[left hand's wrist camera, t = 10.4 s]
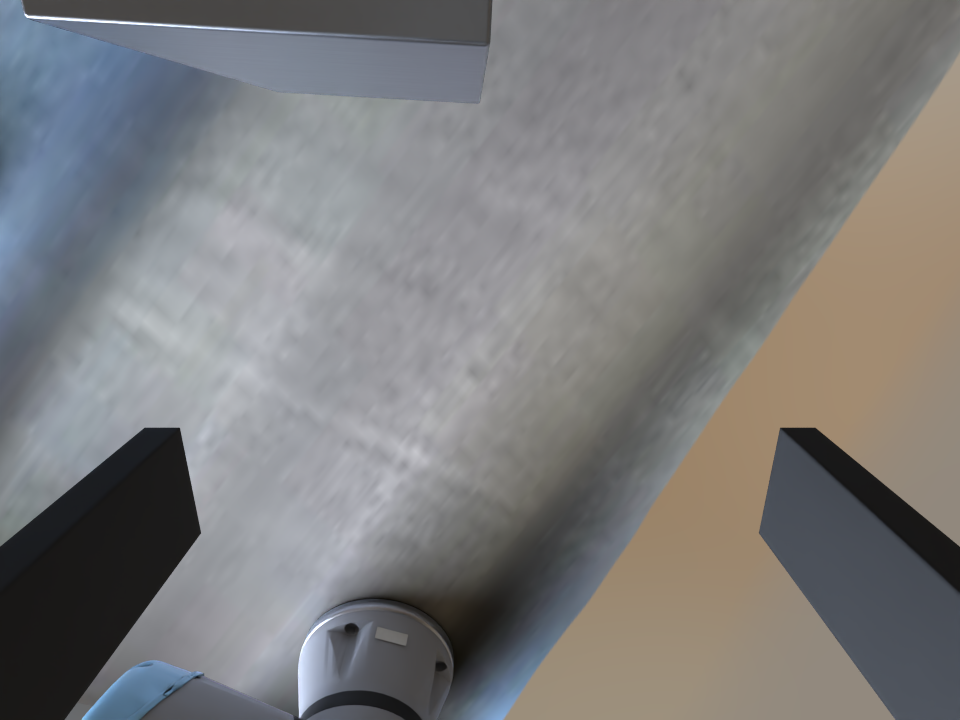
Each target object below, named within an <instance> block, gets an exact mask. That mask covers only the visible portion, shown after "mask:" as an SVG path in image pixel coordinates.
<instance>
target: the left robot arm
mask: <svg viewBox="0 0 960 720" xmlns="http://www.w3.org/2000/svg"><path fill="white" fill-rule="evenodd" d="M200 534H201V531H200V526H199V521H198V516H197V511H196V506H195V501H194V496H193V491H192V486H191V481H190V476H189V471H188V466H187V461H186V456H185V451H184V446H183V441H182V436H181V431H180V428H144V429H143V430H141V431H140V432H139V433H138V434H137V435H135V436H134V437H133V438H132V439H131V440H129V441H128V442H127V443H126V444H124V445H123V446H122V447H121V448H120V449H118V450H117V451H116V452H115V453H114V454H112V455H111V456H110V457H109V458H107V459H106V460H105V461H104V462H103V463H101V464H100V465H99V466H98V467H97V468H95V469H94V470H93V471H92V472H90V473H89V474H88V475H87V476H86V477H84V478H83V479H82V480H81V481H80V482H78V483H77V484H76V485H75V486H73V487H72V488H71V489H70V490H69V491H67V492H66V493H65V494H64V495H63V496H61V497H60V498H59V499H58V500H56V501H55V502H54V503H53V504H52V505H50V506H49V507H48V508H47V509H46V510H44V511H43V512H42V513H41V514H39V515H38V516H37V517H36V518H35V519H33V520H32V521H31V522H30V523H29V524H27V525H26V526H25V527H24V528H22V529H21V530H20V531H19V532H18V533H16V534H15V535H14V536H13V537H12V538H10V539H9V540H8V541H7V542H5V543H4V544H3V545H2V546H1V547H0V720H65V718H66V717H67V716H68V714H69V713H70V711H71V710H72V709H73V707H74V706H75V705H76V703H77V702H78V701H79V699H80V698H81V696H82V695H83V694H84V692H85V691H86V690H87V688H88V687H89V685H90V684H91V683H92V681H93V680H94V679H95V677H96V676H97V675H98V673H99V672H100V670H101V669H102V668H103V666H104V665H105V664H106V662H107V661H108V660H109V658H110V657H111V655H112V654H113V653H114V651H115V650H116V649H117V647H118V646H119V644H120V643H121V642H122V640H123V639H124V638H125V636H126V635H127V634H128V632H129V631H130V629H131V628H132V627H133V625H134V624H135V623H136V621H137V620H138V619H139V617H140V616H141V614H142V613H143V612H144V610H145V609H146V608H147V606H148V605H149V603H150V602H151V601H152V599H153V598H154V597H155V595H156V594H157V593H158V591H159V590H160V588H161V587H162V586H163V584H164V583H165V582H166V580H167V579H168V578H169V576H170V575H171V573H172V572H173V571H174V569H175V568H176V567H177V565H178V564H179V562H180V561H181V560H182V558H183V557H184V556H185V554H186V553H187V552H188V550H189V549H190V547H191V546H192V545H193V543H194V542H195V541H196V539H197V538H198V537H199V535H200ZM759 534H760V535H761V537H762V538H763V539H764V541H765V542H766V543H767V545H768V546H769V547H770V549H771V550H772V552H773V553H774V554H775V556H776V557H777V558H778V560H779V561H780V562H781V564H782V565H783V566H784V568H785V569H786V571H787V572H788V573H789V575H790V576H791V577H792V579H793V580H794V582H795V583H796V584H797V586H798V587H799V588H800V590H801V591H802V593H803V594H804V595H805V597H806V598H807V599H808V601H809V602H810V603H811V605H812V606H813V608H814V609H815V610H816V612H817V613H818V614H819V616H820V617H821V618H822V620H823V621H824V623H825V624H826V625H827V627H828V628H829V629H830V631H831V632H832V634H833V635H834V636H835V638H836V639H837V640H838V642H839V643H840V644H841V646H842V647H843V649H844V650H845V651H846V653H847V654H848V655H849V657H850V658H851V660H852V661H853V662H854V664H855V665H856V666H857V668H858V669H859V670H860V672H861V673H862V675H863V676H864V677H865V679H866V680H867V681H868V683H869V684H870V685H871V687H872V688H873V690H874V691H875V692H876V694H877V695H878V696H879V698H880V699H881V701H882V702H883V703H884V705H885V706H886V707H887V709H888V710H889V711H890V713H891V714H892V716H893V717H894V718H895V720H960V547H959V546H958V545H957V544H956V543H955V542H953V541H952V540H951V539H950V538H948V537H947V536H946V535H945V534H944V533H942V532H941V531H940V530H939V529H937V528H936V527H935V526H934V525H933V524H931V523H930V522H929V521H928V520H927V519H925V518H924V517H923V516H922V515H921V514H919V513H918V512H917V511H916V510H914V509H913V508H912V507H911V506H910V505H908V504H907V503H906V502H905V501H904V500H902V499H901V498H900V497H899V496H897V495H896V494H895V493H894V492H893V491H891V490H890V489H889V488H888V487H887V486H885V485H884V484H883V483H882V482H880V481H879V480H878V479H877V478H876V477H874V476H873V475H872V474H871V473H870V472H868V471H867V470H866V469H865V468H863V467H862V466H861V465H860V464H859V463H857V462H856V461H855V460H854V459H853V458H851V457H850V456H849V455H848V454H846V453H845V452H844V451H843V450H842V449H840V448H839V447H838V446H837V445H835V444H834V443H833V442H832V441H831V440H829V439H828V438H827V437H826V436H825V435H823V434H822V433H821V432H820V431H819V430H817V429H816V428H780V431H779V436H778V442H777V446H776V451H775V456H774V461H773V466H772V471H771V476H770V481H769V486H768V491H767V496H766V501H765V506H764V511H763V516H762V521H761V526H760V531H759ZM453 666H454V655H453V649H452V646H451V643H450V640H449V638H448V637H447V635H446V633H445V632H444V630H443V629H442V628H441V627H440V626H439V624H438V623H437V622H436V621H434V620H433V619H432V618H431V617H429V616H428V615H427V614H425V613H424V612H422V611H420V610H418V609H416V608H414V607H412V606H409V605H407V604H404V603H400V602H396V601H392V600H385V599H363V600H357V601H352V602H348V603H345V604H342V605H339V606H337V607H335V608H333V609H331V610H329V611H328V612H326V613H325V614H324V615H322V616H321V617H320V618H319V619H318V620H317V621H316V622H315V623H314V624H313V626H312V627H311V628H310V630H309V632H308V634H307V636H306V639H305V641H304V644H303V647H302V650H301V653H300V659H299V666H298V685H299V718H298V717H296V716H294V715H292V714H289V713H287V712H285V711H282V710H280V709H278V708H276V707H273V706H271V705H269V704H266V703H264V702H262V701H260V700H257V699H255V698H253V697H250V696H248V695H246V694H244V693H241V692H239V691H237V690H234V689H232V688H230V687H227V686H225V685H223V684H221V683H218V682H216V681H214V680H211V679H209V678H207V677H205V676H204V673H202V672H199V671H195V672H190V671H187V670H184V669H182V668H179V667H176V666H173V665H171V664H168V663H165V662H162V661H158V660H150V661H145V662H142V663H140V664H138V665H136V666H134V667H132V668H131V669H130V670H128V671H127V672H126V673H124V674H123V675H122V676H121V677H120V678H119V679H118V680H117V681H116V682H115V683H114V684H113V685H112V686H111V687H110V688H109V689H108V690H107V691H106V692H105V693H104V694H103V696H102V697H101V698H100V699H99V700H98V701H97V702H96V703H95V704H94V706H93V707H92V708H91V709H90V710H89V711H88V713H87V714H86V715H85V716H84V717H83V719H82V720H437V719H438V717H439V714H440V712H441V710H442V707H443V705H444V703H445V700H446V698H447V696H448V693H449V690H450V687H451V683H452V679H453Z"/></svg>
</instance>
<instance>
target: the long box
mask: <svg viewBox="0 0 960 720" xmlns="http://www.w3.org/2000/svg"><path fill="white" fill-rule="evenodd" d="M21 2H22V7H23V12H24V14H25V16H26V17H27V18H28V19H31V20H34V21H37V22H40V23H44V24H47V25H51V26H54V27H57V28H61V29H64V30H68V31H71V32H74V33H78V34H81V35H85V36H88V37H92V38H95V39H98V40H102V41H105V42H109V43H112V44H115V45H119V46H122V47H126V48H129V49H132V50H136V51H139V52H143V53H146V54H150V55H153V56H156V57H160V58H163V59H167V60H170V61H173V62H177V63H180V64H184V65H187V66H190V67H194V68H197V69H201V70H204V71H208V72H211V73H214V74H218V75H221V76H225V77H228V78H231V79H235V80H238V81H242V82H245V83H248V84H252V85H255V86H259V87H262V88H266V89H269V90H272V91H276V92H284V93H301V94H319V95H336V96H354V97H371V98H388V99H406V100H423V101H441V102H458V103H476V104H478V103H480V99H481V93H482V87H483V81H484V75H485V70H486V64H487V58H488V52H489V46H490V36H491V17H492V0H21Z"/></svg>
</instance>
